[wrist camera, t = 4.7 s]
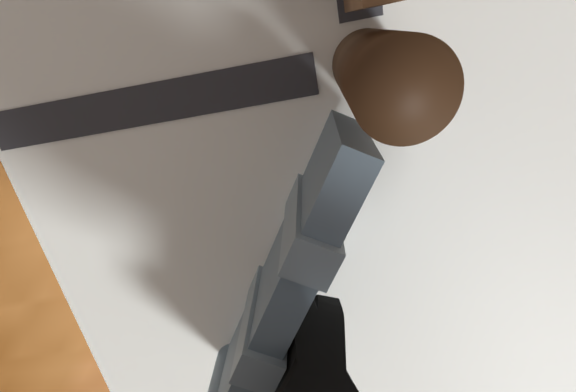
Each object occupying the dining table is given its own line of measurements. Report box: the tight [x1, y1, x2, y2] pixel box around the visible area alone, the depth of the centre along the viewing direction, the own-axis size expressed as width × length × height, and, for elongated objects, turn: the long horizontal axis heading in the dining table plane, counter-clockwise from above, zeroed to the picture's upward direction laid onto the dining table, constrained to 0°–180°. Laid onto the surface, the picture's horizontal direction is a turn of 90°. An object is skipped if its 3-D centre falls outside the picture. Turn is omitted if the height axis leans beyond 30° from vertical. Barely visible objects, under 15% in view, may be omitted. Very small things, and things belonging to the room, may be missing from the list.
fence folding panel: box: [208, 109, 385, 392], centre depth 10 cm, size 9×1×4 cm, turn 159°
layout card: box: [0, 0, 576, 392], centre depth 11 cm, size 21×16×1 cm
